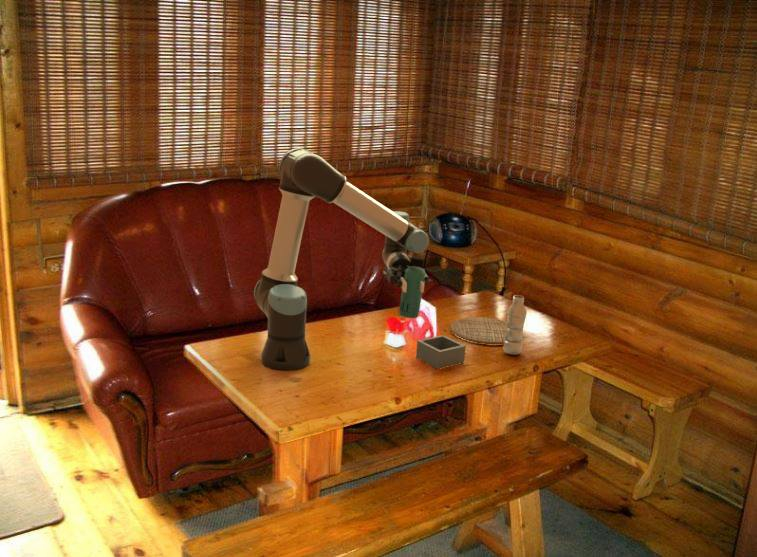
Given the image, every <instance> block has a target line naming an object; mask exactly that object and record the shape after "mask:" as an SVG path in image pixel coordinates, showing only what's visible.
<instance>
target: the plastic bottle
mask: <svg viewBox="0 0 757 557" xmlns="http://www.w3.org/2000/svg"><path fill="white" fill-rule="evenodd" d="M511 302H512V303H511V304H510V306H509V307H508V309H507V311H506V313H507V314H506V316H507V318H506V322H507V332H506V337H505V340H504V344H503V346H502V350H503V351H504V353H505V354H506V355H510V356H512V355H513V356H517V355H520V354H521V353H522V350H523V348H524V347H523V332H524V325H525V321H526V319H527V308H526V307H525V305H524V302H525V297H524V296H523V295H519V294H517V295H515V294H514V295H513V296H512V301H511Z"/></svg>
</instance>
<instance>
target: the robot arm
mask: <svg viewBox="0 0 757 557" xmlns="http://www.w3.org/2000/svg"><path fill="white" fill-rule="evenodd" d="M278 167H279V168H278V169H279V174H280V177H281V178H280V181H279V186H278V190H279V191H280V193H281V195H282V196H281V201H280V207H279V211H278V216H277V221H276V226H275V231H274V236H273V241H272V246H271V249H270V250H271V251H270V254H269V261H268V265H267V268H264V269H263V270H262V271H261V276H260V279H259V280H258V281H257V282H256V284H255V286H254V289H253V297H254V300H255V303H256V305H257V307H258V308H259V309H260V310H261V311H262V312H263V314H264V315H265V316H266V317H267V338H266V341H265V343H264V347H263V349H262V352H261V362H260V363H262V365H264V366H265V367H267V368H269V367H270V368H269V369H272V368H273V369H274V370H277V369H278V370H279V371H294V370H295V371H296V370H300V369H303V368H305V367H308V366H309V364H310V362H311V353H310V350H309V347H308V342H307V340H306V327H307V326H306V325H307V324H306V323H307V308H308V307H307V306H308V299H307V293H306V291H305V290H304V289H303V288H302V287H300V286H297V285H298V279H299V278H298V276H297V275H296V273H295V272H296V266H297V262H298V256H299V252H300V249H301V247H300V246H301V243H302V242H301V241H302V237H303V233H304V229H305V224H306V220H307V219H306V218H307V216H308V215H307V214H308V209H309V204H310V201H311V200H312V199H314V198H318V199H321V200H323V201H324V202H325V203H326V204H332V203H334V204H335V205H336V206H338V207H340V208H342V209H343V210H344V211H346V212H348V213H349V214H351V215H352V216H354V217H355V218H357V219H358V220H361V222H364V223H365V224H367V225H369V226H370V227H371V228H373V229H375V230H376V231H377V232H379V233H381V234H382V235H384V236H385V237H384V238H385V239H384V248H383V250H382V253H381V256H382V261H383V263H384V264H385V266H386V267H383V271H382V272H383V274H382V276H384V277H385V278H386V280H387V281H388V283H389V284H390V285H395V288H401V291H402V290H403V291H404V292H406V290H407V283H406V281H405V280H404V278H405V270H406V269H407V268H409V267H411V266H414V265H412V264H410V261H411V259H410V258H409V256H408V255H407V254H408V251H409V252H411V253H413V254H421V253H423V252H424V251H426V249H427V248H428V247H429V243H430V238H429V236H428V234H427V232H425V231H424V229H421V228H419V227H417V226H415V225H414V224H412V223H411V222H410V215H409V213H408V212H404V211H401V210H399V211H397V210H396V211H393V210H391V209H390V208H388V207H387V206H385V205H384V204H382V203H380V202H379V201H377V199H374V198H373V197H372V196H370V195H369V194H366V193H365V192H364V191H362V190H361V189H359V188H358V187H356V186H355V185H353V184H352V183H351V182H348V181H347V177H346V176H345V175H343V173H341V172H339V171H338V170H337V169H336V168H335V167H333V166H332V165H331V164H329V162H328V161H327V160H325V159H324V158H323V157H321V156H320V155H318V154H316V153H313V152H312V151H311V150H310V149H306V148H297V147H296V148H293V149H290V150H288V151H287V152H285V153H284V154H283V155H282V157H281V159H280V161H279V165H278ZM421 268H422V269H423V270H424V271H425V270H426V269H425V268H423V267H421ZM425 272H426V271H425ZM428 285H429V276H428V275H427V273H426V274H425V278H424V282H423V281H420V288H419V290H420V291H421V292H422V293H424V292H425V287H426V286H428Z"/></svg>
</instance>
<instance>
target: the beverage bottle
mask: <svg viewBox="0 0 757 557" xmlns="http://www.w3.org/2000/svg"><path fill="white" fill-rule="evenodd" d="M410 264H412V265H413V266H411V267H409V268H407V269H406V270H405V278H404V280H405V281H406V283H407V290H406V292H404V291H403V290H402V289H401V295H400V300H399V303H398V305H399V307H398V310H397V311H398V314H399V316H401V317H404V318H407V319H416V318H418V317H419V315H420V310H421V305H422V304H421V303H422V299H423V298H422V297H423V296H422V294H423V292H421V291H420V290H419V288H420V281H423V282H424V278H425V274H427V273H426V271H424V270H423V269H422V268H423V266H424V264H425V259H424V258H423V257H422V256H411V259H410Z"/></svg>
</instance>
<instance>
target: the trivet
mask: <svg viewBox="0 0 757 557" xmlns="http://www.w3.org/2000/svg"><path fill="white" fill-rule="evenodd" d="M451 330H452V332H453V333H454V334H456V335H457V336H459V337H461V338H463V339H466V340H469V341H473V342H477V343H485V344H504V340H505V337H506V332H507V321H505V320H501V319H497V318H491V317H483V316H482V317H481V316H479V317H478V316H473V317H471V316H470V317H469V316H468V317H462V318H459V319H457V320H454V321H453V322H452V323H451V324H450V331H451ZM452 332H451V333H452Z"/></svg>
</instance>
